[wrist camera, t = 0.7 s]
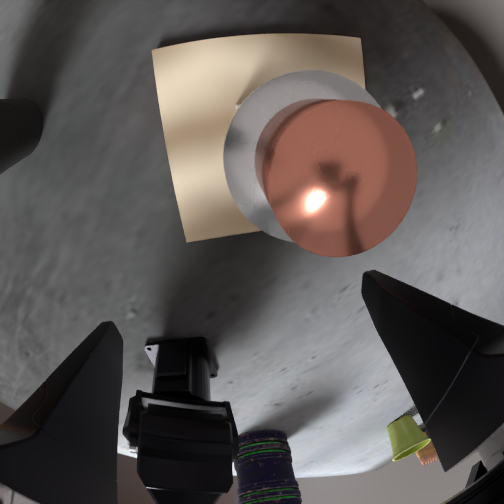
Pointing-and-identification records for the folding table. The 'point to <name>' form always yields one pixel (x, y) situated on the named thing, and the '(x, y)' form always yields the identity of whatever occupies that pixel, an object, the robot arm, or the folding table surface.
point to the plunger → (319, 163)
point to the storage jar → (265, 469)
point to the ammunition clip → (427, 451)
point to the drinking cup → (18, 131)
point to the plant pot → (406, 437)
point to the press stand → (228, 110)
